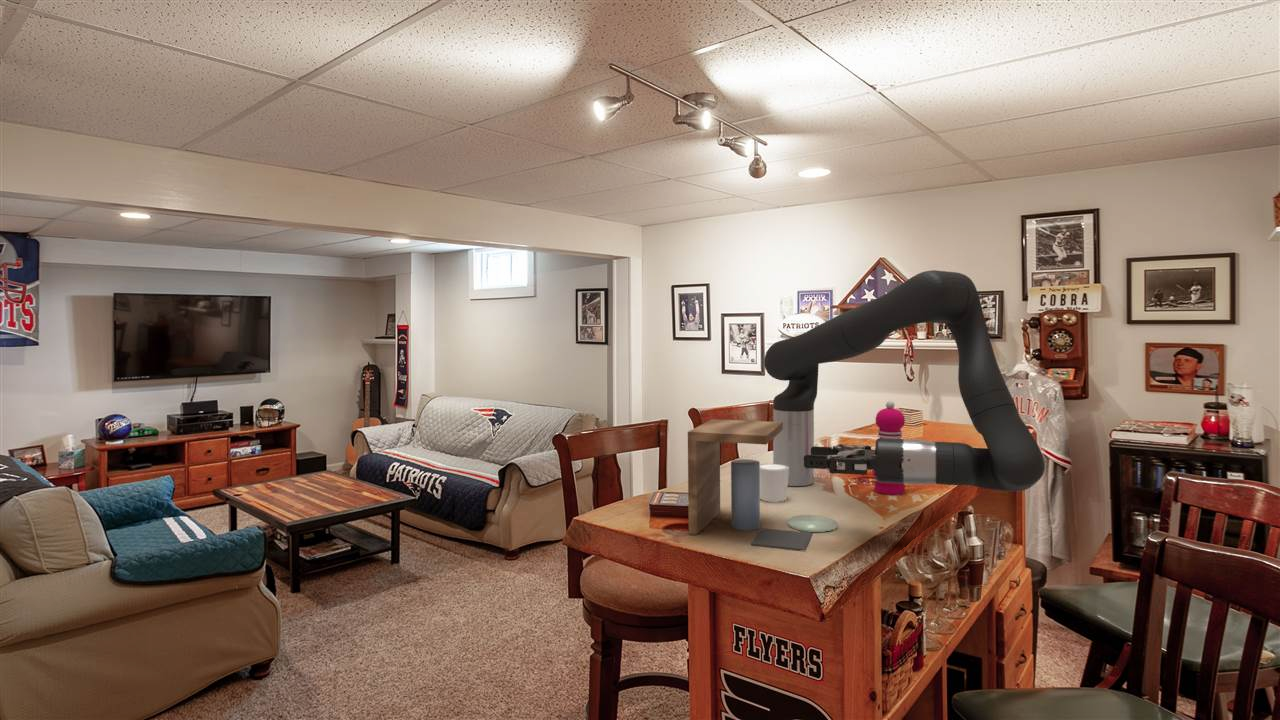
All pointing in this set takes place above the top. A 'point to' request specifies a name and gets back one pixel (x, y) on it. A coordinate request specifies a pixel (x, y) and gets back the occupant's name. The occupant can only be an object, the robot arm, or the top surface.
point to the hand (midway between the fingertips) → (807, 456)
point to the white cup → (773, 482)
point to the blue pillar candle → (745, 494)
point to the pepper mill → (889, 428)
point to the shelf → (716, 462)
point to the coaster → (812, 523)
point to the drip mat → (782, 539)
